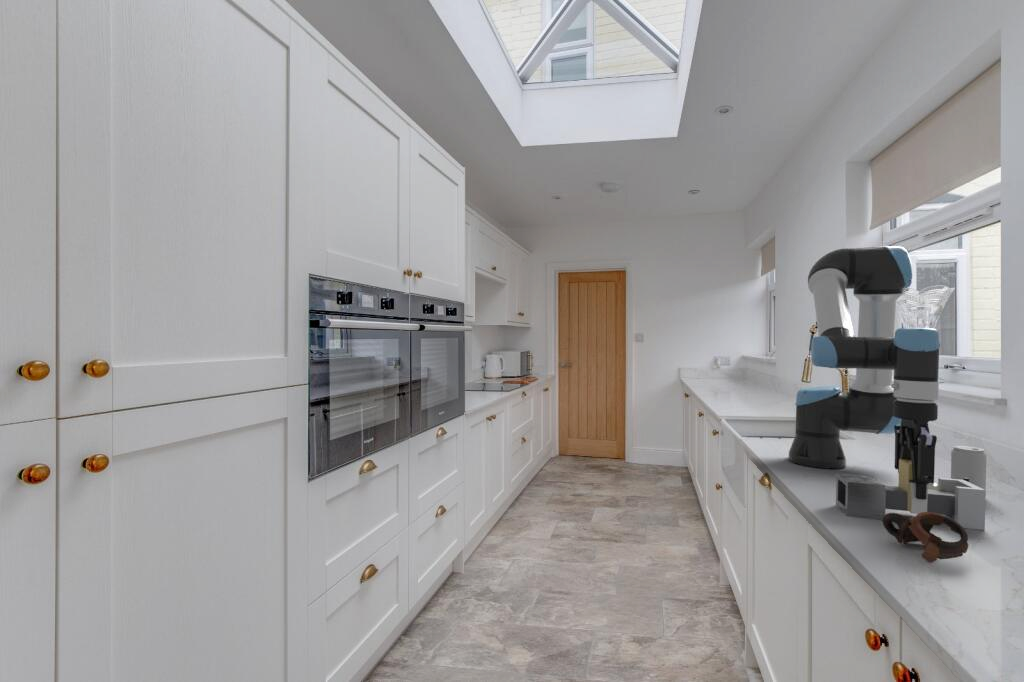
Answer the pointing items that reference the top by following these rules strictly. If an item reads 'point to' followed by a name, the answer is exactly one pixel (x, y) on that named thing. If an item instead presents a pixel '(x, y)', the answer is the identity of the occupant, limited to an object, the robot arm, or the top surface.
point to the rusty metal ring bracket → (927, 534)
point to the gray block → (860, 496)
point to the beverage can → (969, 465)
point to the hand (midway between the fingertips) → (912, 509)
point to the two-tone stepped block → (901, 495)
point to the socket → (966, 502)
